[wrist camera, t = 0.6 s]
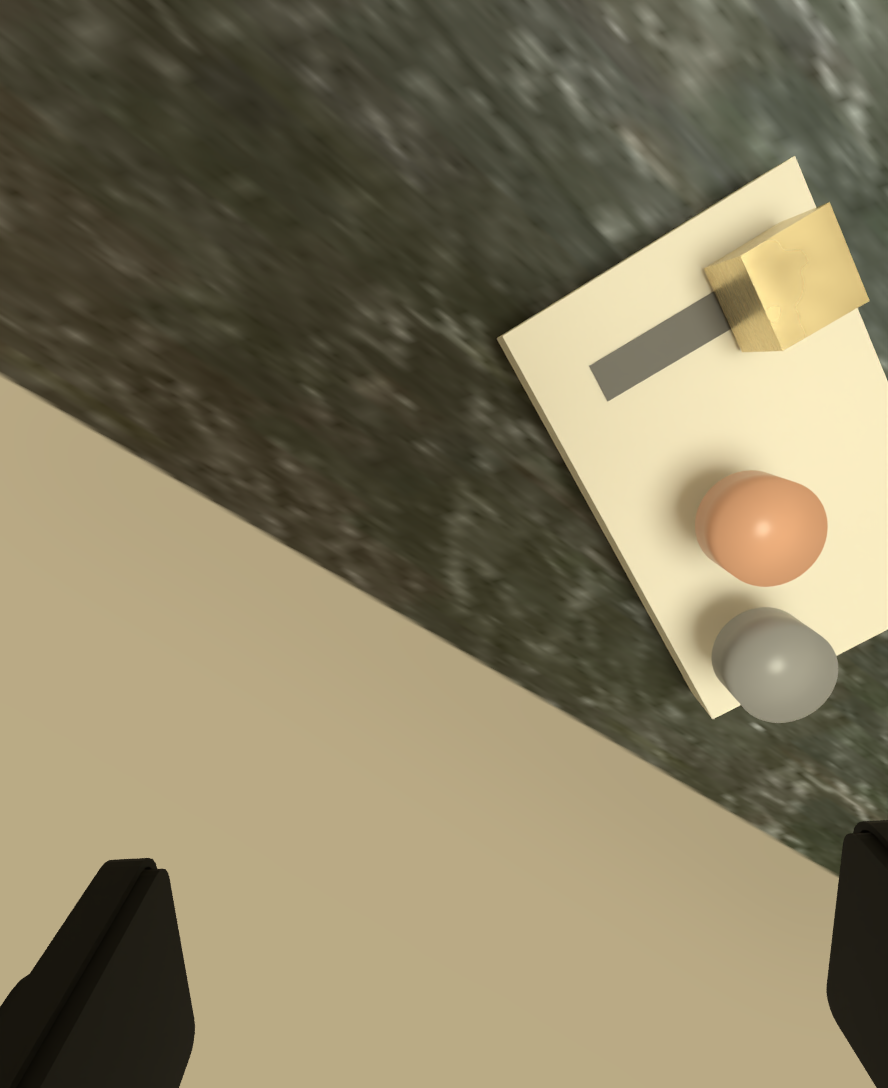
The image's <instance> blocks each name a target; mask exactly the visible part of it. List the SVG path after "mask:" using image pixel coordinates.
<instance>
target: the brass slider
mask: <svg viewBox="0 0 888 1088" xmlns="http://www.w3.org/2000/svg"><path fill="white" fill-rule="evenodd" d="M704 270H705V273H706V275H707V277H708V279H709V281H710V283H711V286H712V288H713V290H714V292H715V294H716V296H717V299H718V301H719V303H720V305H721V307H722V309H723V312H724V314H725V316H726V318H727V320H728V322H729V325H730V327H731V329H732V331H733V333H734V335H735V338H736V340H737V342H738V344H739V346H740V348H741V351H742V352H768V351H784V350H786V349H787V348H789V347H791V346H792V345H794V344H796V343H798V342H799V341H801V340H803V339H804V338H806V337H808V336H810V335H811V334H813V333H815V332H817V331H818V330H820V329H822V328H823V327H825V326H827V325H829V324H830V323H832V322H834V321H836V320H837V319H839V318H841V317H842V316H844V315H846V314H848V313H849V312H851V311H853V310H855V309H856V308H858V307H860V306H861V305H863V304H865V303H867V302H868V301H869V298H868V296H867V293H866V291H865V289H864V286H863V284H862V281H861V279H860V276H859V274H858V271H857V269H856V266H855V264H854V261H853V259H852V256H851V254H850V251H849V249H848V247H847V244H846V242H845V239H844V237H843V234H842V232H841V229H840V227H839V224H838V222H837V219H836V217H835V214H834V212H833V210H832V207H831V205H830V202H829V203H826V204H824V205H821V206H819V207H816V208H814V209H811V210H809V211H806V212H804V213H801V214H799V215H797V216H794V217H792V218H789V219H787V220H784V221H782V222H780V223H778V224H777V225H775V226H773V227H772V228H770V229H768V230H767V231H765V232H763V233H762V234H760V235H758V236H757V237H755V238H753V239H752V240H750V241H748V242H747V243H745V244H744V245H742V246H740V247H739V248H737V249H735V250H734V251H732V252H730V253H729V254H727V255H725V256H724V257H722V258H720V259H719V260H717V261H715V262H714V263H712V264H710V265H709V266H707V267H706V268H704Z"/></svg>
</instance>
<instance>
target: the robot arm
mask: <svg viewBox="0 0 888 1088" xmlns="http://www.w3.org/2000/svg"><path fill="white" fill-rule="evenodd" d="M827 998H828V1003H829V1006H830V1010H831V1012H832V1015H833V1017H834V1019H835V1021H836V1022H837V1024H838V1026H839V1027H840V1029H841V1031H842V1032H843V1034H844V1036H845V1037H846V1039H847V1040H848V1042H849V1044H850V1045H851V1047H852V1049H853V1050H854V1052H855V1053H856V1055H857V1057H858V1058H859V1060H860V1061H861V1063H862V1065H863V1066H864V1068H865V1070H866V1071H867V1073H868V1074H869V1076H870V1078H871V1079H872V1081H873V1082H874V1084H875V1086H876V1087H877V1088H888V820H880V821H863V822H859V823H858V824H857V825H856V826H855V828H854V832H853V833H850V834H847V835H846V836H845V838H844V842H843V849H842V857H841V866H840V875H839V883H838V892H837V901H836V909H835V918H834V927H833V935H832V944H831V953H830V962H829V970H828V979H827ZM194 1034H195V1023H194V1015H193V1010H192V1005H191V998H190V993H189V987H188V981H187V975H186V970H185V964H184V958H183V953H182V948H181V941H180V936H179V930H178V924H177V919H176V913H175V908H174V901H173V896H172V890H171V884H170V879H169V875H168V872H167V871H166V869H157V867H156V863H155V862H154V860H153V859H150V858H140V859H120V860H109V861H107V862H106V863H104V865H103V866H102V867H101V868H100V869H99V871H98V873H97V874H96V876H95V877H94V878H93V880H92V881H91V883H90V885H89V886H88V887H87V889H86V890H85V892H84V893H83V895H82V897H81V898H80V899H79V901H78V902H77V904H76V906H75V907H74V909H73V910H72V911H71V913H70V914H69V916H68V917H67V919H66V921H65V922H64V923H63V925H62V926H61V928H60V929H59V931H58V932H57V934H56V935H55V937H54V938H53V940H52V941H51V943H50V944H49V946H48V947H47V949H46V950H45V952H44V954H43V955H42V956H41V958H40V959H39V961H38V962H37V964H36V965H35V967H34V968H33V970H32V971H31V973H30V974H29V975H27V976H26V977H24V978H23V979H21V980H20V981H19V982H18V983H17V985H16V986H15V987H14V988H13V989H12V991H11V992H10V993H9V995H8V996H7V998H6V999H5V1001H4V1002H3V1004H2V1005H1V1006H0V1088H179V1086H180V1083H181V1080H182V1078H183V1075H184V1072H185V1069H186V1066H187V1063H188V1060H189V1058H190V1054H191V1051H192V1047H193V1041H194Z"/></svg>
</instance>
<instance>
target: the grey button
mask: <svg viewBox="0 0 888 1088" xmlns="http://www.w3.org/2000/svg"><path fill="white" fill-rule="evenodd" d="M712 666H713V670H714V672H715V675H716V676H717V678H718V679H719V681H720V682H721V683H722V684H723V685H724V686H725V688H726V689H727V690H728V691H729V692H730V693H731V694H732V695H733V697H734V698H735V699H736V700H737V701H738V702H739V703H740V704H741V705H742V707H743V708H744V709H745V710H746V711H747V712H748V713H750V714H751V715H753V716H754V717H756V718H758V719H760V720H764V721H767V722H773V723H784V722H791V721H795V720H798V719H801V718H803V717H805V716H807V715H809V714H811V713H813V712H814V711H815V710H817V709H818V708H819V707H820V706H821V705H822V704H823V703H824V702H825V701H826V700H827V699H828V697H829V696H830V694H831V693H832V691H833V689H834V686H835V684H836V681H837V676H838V661H837V657H836V654H835V652H834V650H833V648H832V646H831V645H830V644H829V642H828V641H827V640H826V639H824V638H823V637H822V636H821V635H819V634H818V633H816V632H815V631H814V630H812V629H811V628H809V627H808V626H807V625H805V624H804V623H802V622H801V621H799V620H798V619H797V618H795V617H794V616H792V615H791V614H789V613H788V612H785V611H783V610H780V609H777V608H771V607H761V608H755V609H751V610H748V611H745V612H743V613H740V614H739V615H737V616H735V617H734V618H733V619H731V620H730V621H729V622H728V623H727V624H726V625H725V626H724V627H723V628H722V629H721V631H720V632H719V634H718V635H717V637H716V639H715V642H714V645H713V648H712Z"/></svg>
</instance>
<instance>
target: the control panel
mask: <svg viewBox="0 0 888 1088" xmlns="http://www.w3.org/2000/svg"><path fill="white" fill-rule="evenodd" d="M814 208H816V206H815V204H814V201H813V199H812V196H811V194H810V191H809V189H808V186H807V184H806V182H805V179H804V177H803V174H802V172H801V169H800V167H799V165H798V162H797V160H796V157H795V156H794V157H792V158H790V159H789V160H787V161H785V162H783V163H782V164H780V165H778V166H776V167H775V168H773V169H771V170H769V171H768V172H766V173H764V174H762V175H761V176H759V177H757V178H756V179H754V180H753V181H751V182H749V183H748V184H746V185H744V186H743V187H741V188H740V189H738V190H736V191H735V192H733V193H731V194H730V195H728V196H727V197H725V198H723V199H722V200H720V201H718V202H717V203H715V204H714V205H712V206H710V207H709V208H707V209H705V210H704V211H702V212H701V213H699V214H697V215H696V216H694V217H692V218H691V219H689V220H688V221H686V222H684V223H683V224H681V225H680V226H678V227H676V228H675V229H673V230H671V231H670V232H668V233H667V234H665V235H663V236H662V237H660V238H658V239H657V240H655V241H654V242H652V243H650V244H649V245H647V246H645V247H644V248H642V249H641V250H639V251H637V252H636V253H634V254H632V255H631V256H629V257H628V258H626V259H624V260H623V261H621V262H619V263H618V264H616V265H615V266H613V267H611V268H610V269H608V270H606V271H605V272H603V273H602V274H600V275H598V276H597V277H595V278H594V279H592V280H590V281H589V282H587V283H585V284H584V285H582V286H581V287H579V288H577V289H576V290H574V291H572V292H571V293H569V294H568V295H566V296H564V297H563V298H561V299H559V300H558V301H556V302H555V303H553V304H551V305H550V306H548V307H546V308H545V309H543V310H542V311H540V312H538V313H537V314H535V315H533V316H532V317H530V318H529V319H527V320H525V321H524V322H522V323H521V324H519V325H517V326H516V327H514V328H512V329H511V330H509V331H508V332H506V333H504V334H503V335H501V336H499V337H498V338H496V339H497V340H498V342H499V344H500V346H501V348H502V350H503V351H504V353H505V355H506V357H507V359H508V360H509V362H510V364H511V366H512V368H513V369H514V371H515V373H516V375H517V377H518V379H519V380H520V382H521V384H522V386H523V388H524V389H525V391H526V393H527V395H528V397H529V398H530V400H531V402H532V404H533V406H534V408H535V409H536V411H537V413H538V415H539V417H540V418H541V420H542V422H543V424H544V426H545V427H546V429H547V431H548V433H549V435H550V437H551V438H552V440H553V442H554V444H555V446H556V447H557V449H558V451H559V453H560V455H561V456H562V458H563V460H564V462H565V464H566V466H567V467H568V469H569V471H570V473H571V475H572V476H573V478H574V480H575V482H576V484H577V486H578V487H579V489H580V491H581V493H582V495H583V496H584V498H585V500H586V502H587V504H588V505H589V507H590V509H591V511H592V513H593V515H594V516H595V518H596V520H597V522H598V524H599V525H600V527H601V529H602V531H603V533H604V534H605V536H606V538H607V540H608V542H609V544H610V545H611V547H612V549H613V551H614V553H615V554H616V556H617V558H618V560H619V562H620V563H621V565H622V567H623V569H624V571H625V573H626V574H627V576H628V578H629V580H630V582H631V583H632V585H633V587H634V589H635V591H636V592H637V594H638V596H639V598H640V600H641V602H642V603H643V605H644V607H645V609H646V611H647V612H648V614H649V616H650V618H651V620H652V621H653V623H654V625H655V627H656V629H657V631H658V632H659V634H660V636H661V638H662V640H663V641H664V643H665V645H666V647H667V649H668V650H669V652H670V654H671V656H672V658H673V660H674V661H675V663H676V665H677V667H678V669H679V670H680V672H681V674H682V676H683V678H684V679H685V681H686V683H687V685H688V687H689V689H690V690H691V692H692V693H693V695H694V696H695V697H696V699H697V700H698V701H699V702H700V704H701V705H702V706H703V708H704V709H705V710H706V711H707V713H708V714H709V715H710V717H711V718H712V719H714V718H716V717H718V716H720V715H722V714H724V713H726V712H728V711H730V710H732V709H734V708H736V707H738V706H740V705H741V704H740V703H739V702H738V701H737V700H736V699H735V698H734V697H733V695H732V694H731V693H730V692H729V691H728V690H727V689H726V688H725V686H724V685H723V684H722V683H721V682H720V681H719V679H718V678H717V676H716V675H715V672H714V670H713V666H712V648H713V645H714V642H715V639H716V637H717V635H718V634H719V632H720V631H721V629H722V628H723V627H724V626H725V625H726V624H727V623H728V622H729V621H730V620H731V619H733V618H734V617H735V616H737V615H739V614H740V613H743V612H745V611H748V610H751V609H755V608H761V607H771V608H777V609H780V610H783V611H785V612H788V613H789V614H791V615H792V616H794V617H795V618H797V619H798V620H799V621H801V622H802V623H804V624H805V625H807V626H808V627H809V628H811V629H812V630H814V631H815V632H816V633H818V634H819V635H821V636H822V637H823V638H824V639H826V640H827V641H828V642H829V644H830V645H831V646H832V648H833V650H834V652H835V654H836V656H837V655H839V654H841V653H843V652H845V651H846V650H848V649H850V648H852V647H854V646H856V645H858V644H860V643H862V642H864V641H866V640H868V639H870V638H872V637H874V636H876V635H878V634H879V633H881V632H883V631H885V630H887V629H888V381H887V379H886V376H885V374H884V372H883V369H882V367H881V364H880V362H879V359H878V357H877V354H876V352H875V350H874V347H873V345H872V342H871V340H870V337H869V335H868V333H867V330H866V328H865V325H864V323H863V320H862V318H861V316H860V313H859V311H858V308H856V309H855V310H853V311H851V312H849V313H848V314H846V315H844V316H842V317H841V318H839V319H837V320H836V321H834V322H832V323H830V324H829V325H827V326H825V327H823V328H822V329H820V330H818V331H817V332H815V333H813V334H811V335H810V336H808V337H806V338H804V339H803V340H801V341H799V342H798V343H796V344H794V345H792V346H791V347H789V348H787V349H786V350H784V351H768V352H742V351H741V348H740V346H739V344H738V342H737V340H736V338H735V335H734V333H733V331H732V329H731V327H730V325H729V322H728V320H727V318H726V316H725V314H724V312H723V309H722V307H721V305H720V303H719V301H718V299H717V296H716V294H715V292H714V290H713V288H712V286H711V283H710V281H709V279H708V277H707V275H706V273H705V270H704V268H706V267H707V266H709V265H710V264H712V263H714V262H715V261H717V260H719V259H720V258H722V257H724V256H725V255H727V254H729V253H730V252H732V251H734V250H735V249H737V248H739V247H740V246H742V245H744V244H745V243H747V242H748V241H750V240H752V239H753V238H755V237H757V236H758V235H760V234H762V233H763V232H765V231H767V230H768V229H770V228H772V227H773V226H775V225H777V224H778V223H780V222H782V221H784V220H787V219H789V218H792V217H794V216H797V215H799V214H801V213H804V212H806V211H809V210H811V209H814ZM748 470H756V471H762V472H766V473H769V474H772V475H775V476H778V477H781V478H784V479H787V480H790V481H793V482H796V483H799V484H801V485H803V486H805V487H807V488H808V489H810V490H811V491H812V492H813V493H814V494H815V495H816V496H817V497H818V498H819V500H820V501H821V503H822V505H823V506H824V509H825V512H826V516H827V522H828V530H827V537H826V542H825V544H824V547H823V549H822V552H821V554H820V555H819V557H818V558H817V560H816V561H815V562H814V564H813V565H812V566H811V567H810V568H809V569H808V570H807V571H806V572H804V573H803V574H802V575H801V576H799V577H797V578H796V579H794V580H792V581H790V582H788V583H785V584H781V585H777V586H770V587H759V586H754V585H750V584H747V583H745V582H742V581H740V580H739V579H737V578H736V577H734V576H733V575H732V574H730V573H729V572H727V571H726V570H725V569H723V568H722V567H720V566H719V565H718V564H716V563H715V562H713V561H712V560H711V559H710V558H708V557H707V556H706V554H705V553H704V552H703V551H702V549H701V547H700V546H699V543H698V541H697V538H696V533H695V518H696V513H697V510H698V507H699V505H700V503H701V501H702V499H703V497H704V496H705V495H706V493H707V492H708V491H709V490H710V489H711V487H712V486H714V485H715V484H716V483H717V482H718V481H720V480H721V479H723V478H725V477H727V476H729V475H731V474H734V473H737V472H741V471H748Z"/></svg>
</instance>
